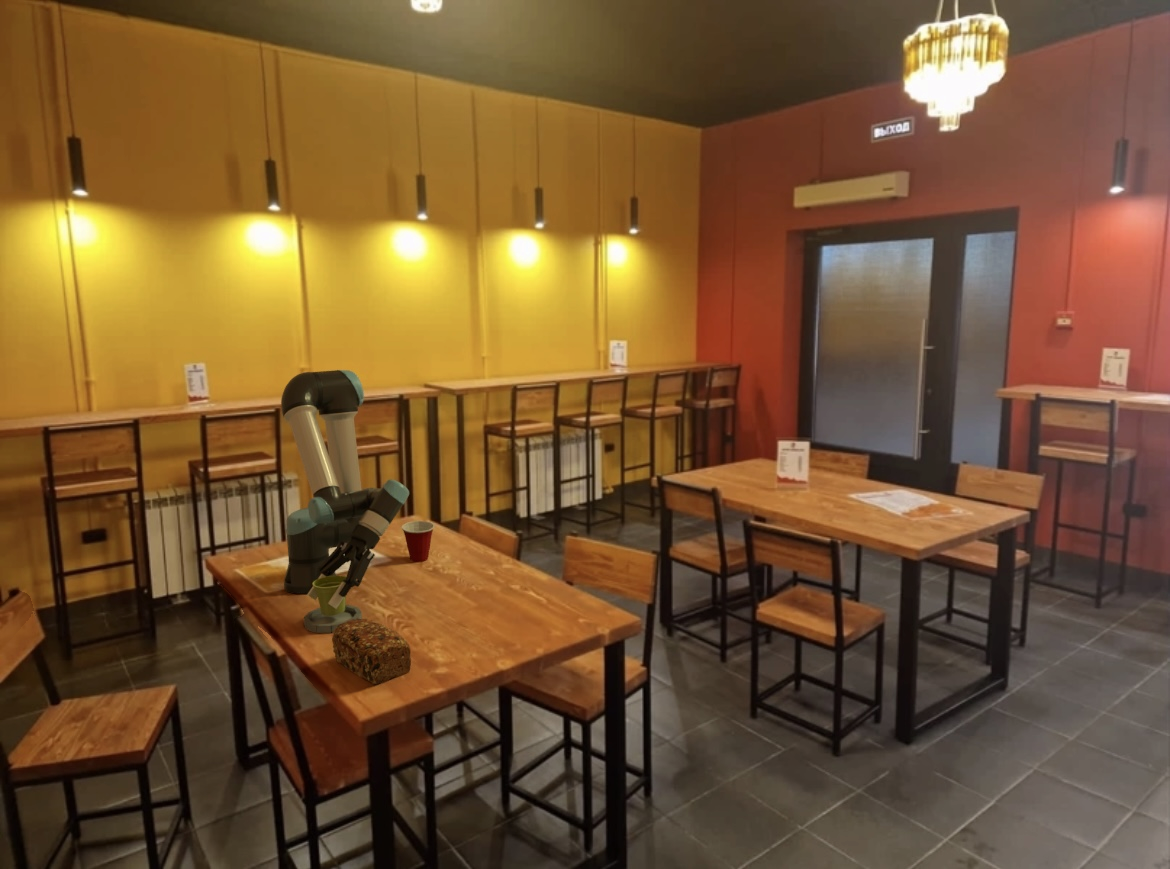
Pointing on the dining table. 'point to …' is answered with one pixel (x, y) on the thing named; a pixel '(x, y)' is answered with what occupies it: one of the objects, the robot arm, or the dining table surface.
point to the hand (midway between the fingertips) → (321, 601)
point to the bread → (371, 650)
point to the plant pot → (329, 593)
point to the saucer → (329, 619)
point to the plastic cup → (418, 539)
